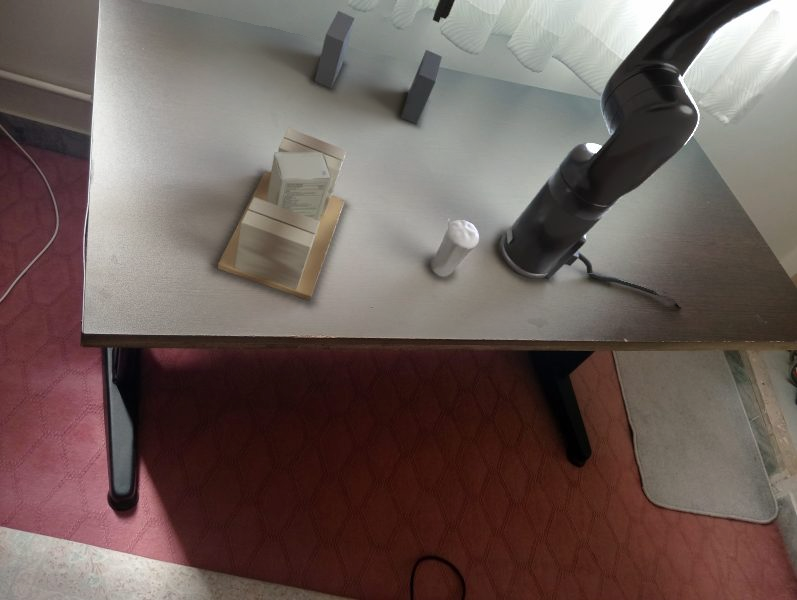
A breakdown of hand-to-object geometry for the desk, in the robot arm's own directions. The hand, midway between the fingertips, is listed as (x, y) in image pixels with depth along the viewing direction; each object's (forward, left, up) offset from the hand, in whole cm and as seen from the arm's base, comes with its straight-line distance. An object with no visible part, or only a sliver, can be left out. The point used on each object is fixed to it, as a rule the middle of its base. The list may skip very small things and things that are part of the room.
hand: (399, 1), depth 56 cm
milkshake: (-18, +6, -30) cm, 36 cm away
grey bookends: (0, -28, -30) cm, 41 cm away
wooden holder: (+4, +10, -30) cm, 32 cm away
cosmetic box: (+4, +10, -29) cm, 31 cm away
